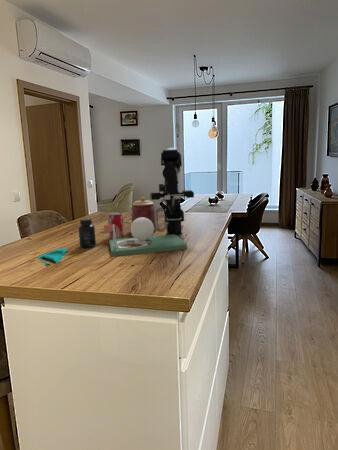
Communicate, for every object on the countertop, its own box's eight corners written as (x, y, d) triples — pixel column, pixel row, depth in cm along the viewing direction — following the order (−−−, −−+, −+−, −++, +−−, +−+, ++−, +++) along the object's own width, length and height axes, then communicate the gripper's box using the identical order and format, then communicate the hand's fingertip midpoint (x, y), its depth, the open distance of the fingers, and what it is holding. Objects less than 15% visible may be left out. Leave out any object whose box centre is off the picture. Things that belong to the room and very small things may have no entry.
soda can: (121, 240, 155) (120, 214, 152) (107, 240, 156) (105, 214, 154) (126, 236, 162) (125, 212, 159) (112, 236, 163) (111, 212, 161)
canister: (145, 234, 165) (143, 198, 162) (126, 231, 173) (124, 197, 170) (161, 229, 176) (160, 195, 172) (143, 227, 183) (141, 194, 180)
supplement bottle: (99, 245, 148) (97, 218, 145) (90, 249, 141) (88, 221, 139) (85, 244, 150) (83, 217, 147) (76, 248, 144) (74, 220, 141)
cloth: (53, 249, 146) (53, 244, 145) (83, 249, 143) (83, 244, 143) (18, 268, 120) (18, 262, 120) (54, 269, 118) (54, 263, 118)
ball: (158, 225, 149) (138, 220, 151) (154, 216, 140) (132, 211, 142) (152, 246, 146) (131, 240, 148) (146, 238, 136) (124, 233, 139)
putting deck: (175, 238, 155) (174, 212, 152) (187, 249, 135) (186, 220, 133) (104, 244, 148) (102, 217, 146) (106, 257, 129) (104, 226, 126)
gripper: (186, 176, 155) (187, 210, 158) (146, 178, 151) (148, 213, 154) (193, 178, 144) (194, 214, 147) (151, 180, 140) (152, 217, 143)
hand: (172, 214), depth 148 cm, fingers closed
